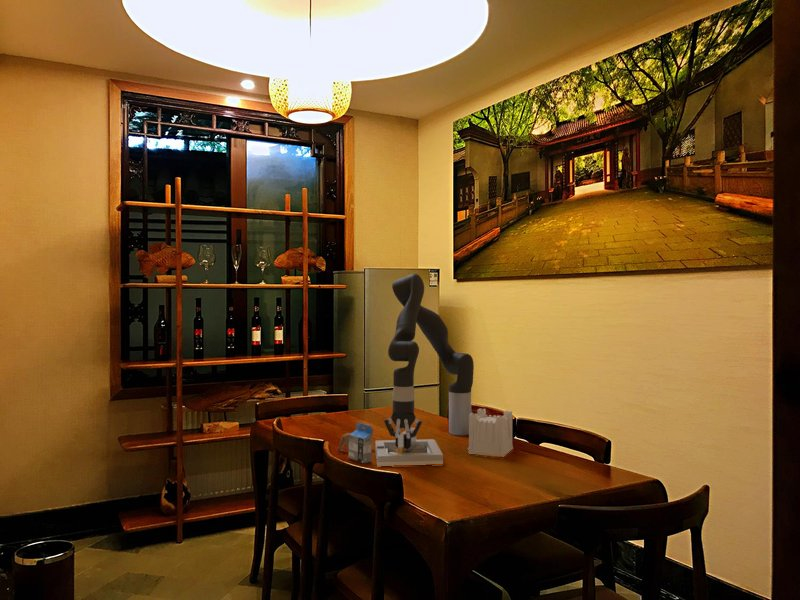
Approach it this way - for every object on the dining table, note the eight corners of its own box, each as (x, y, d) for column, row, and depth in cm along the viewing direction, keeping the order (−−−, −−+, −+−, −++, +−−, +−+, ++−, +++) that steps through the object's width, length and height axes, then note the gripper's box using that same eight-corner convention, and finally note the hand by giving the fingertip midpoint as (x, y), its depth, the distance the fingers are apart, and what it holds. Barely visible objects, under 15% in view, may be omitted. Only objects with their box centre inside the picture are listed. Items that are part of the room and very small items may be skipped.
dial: (397, 445, 220) (397, 425, 220) (433, 449, 215) (432, 428, 215) (380, 455, 207) (380, 433, 207) (418, 459, 202) (418, 437, 202)
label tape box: (347, 458, 210) (347, 423, 210) (357, 456, 213) (357, 421, 213) (362, 463, 203) (362, 427, 203) (372, 461, 206) (372, 425, 206)
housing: (434, 448, 223) (434, 437, 223) (443, 465, 201) (443, 453, 201) (375, 450, 221) (375, 438, 221) (377, 466, 199) (377, 454, 199)
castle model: (503, 458, 209) (503, 417, 209) (462, 453, 216) (462, 414, 216) (512, 449, 221) (512, 411, 221) (473, 445, 227) (473, 408, 227)
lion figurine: (369, 446, 227) (369, 422, 227) (376, 449, 222) (376, 425, 222) (334, 451, 219) (333, 427, 219) (340, 455, 214) (340, 430, 214)
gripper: (425, 397, 210) (424, 446, 210) (386, 396, 212) (385, 444, 213) (421, 401, 202) (421, 452, 203) (381, 399, 205) (381, 450, 205)
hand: (403, 448), depth 208 cm, fingers closed on dial, 2 cm apart
